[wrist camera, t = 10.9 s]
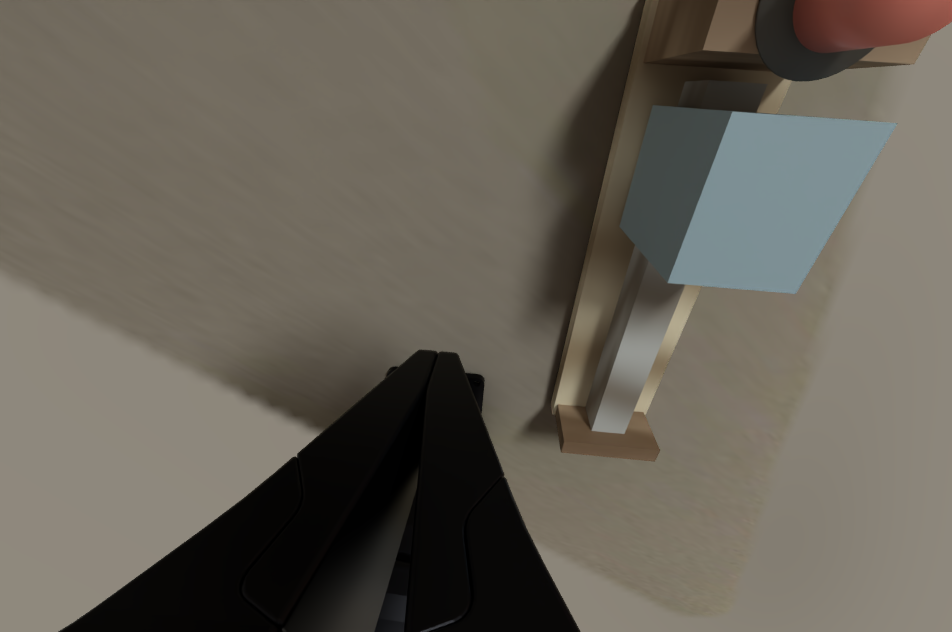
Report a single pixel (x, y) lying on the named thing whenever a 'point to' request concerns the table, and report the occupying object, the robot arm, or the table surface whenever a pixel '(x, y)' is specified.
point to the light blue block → (744, 193)
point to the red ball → (866, 22)
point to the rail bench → (609, 249)
